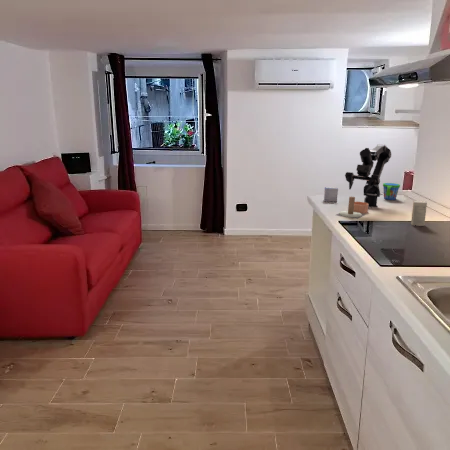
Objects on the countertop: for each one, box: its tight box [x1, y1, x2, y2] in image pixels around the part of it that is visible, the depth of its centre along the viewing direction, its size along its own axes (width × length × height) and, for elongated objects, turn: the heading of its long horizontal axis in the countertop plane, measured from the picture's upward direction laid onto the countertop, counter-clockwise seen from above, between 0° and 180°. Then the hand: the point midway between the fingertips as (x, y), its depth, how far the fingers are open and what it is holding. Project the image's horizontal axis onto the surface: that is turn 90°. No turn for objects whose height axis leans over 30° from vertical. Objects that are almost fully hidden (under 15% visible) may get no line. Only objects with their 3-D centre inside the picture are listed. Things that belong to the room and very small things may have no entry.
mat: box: [335, 213, 366, 220], centre depth 241 cm, size 13×13×1 cm
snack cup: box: [382, 182, 401, 201], centre depth 290 cm, size 16×10×10 cm
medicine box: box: [323, 186, 339, 202], centre depth 279 cm, size 8×4×9 cm, turn 84°
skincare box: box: [410, 200, 428, 227], centre depth 224 cm, size 6×4×12 cm
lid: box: [338, 196, 363, 219], centre depth 239 cm, size 12×12×10 cm
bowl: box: [354, 201, 369, 214], centre depth 251 cm, size 10×10×5 cm
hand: (357, 190), depth 244 cm, fingers open, 9 cm apart
